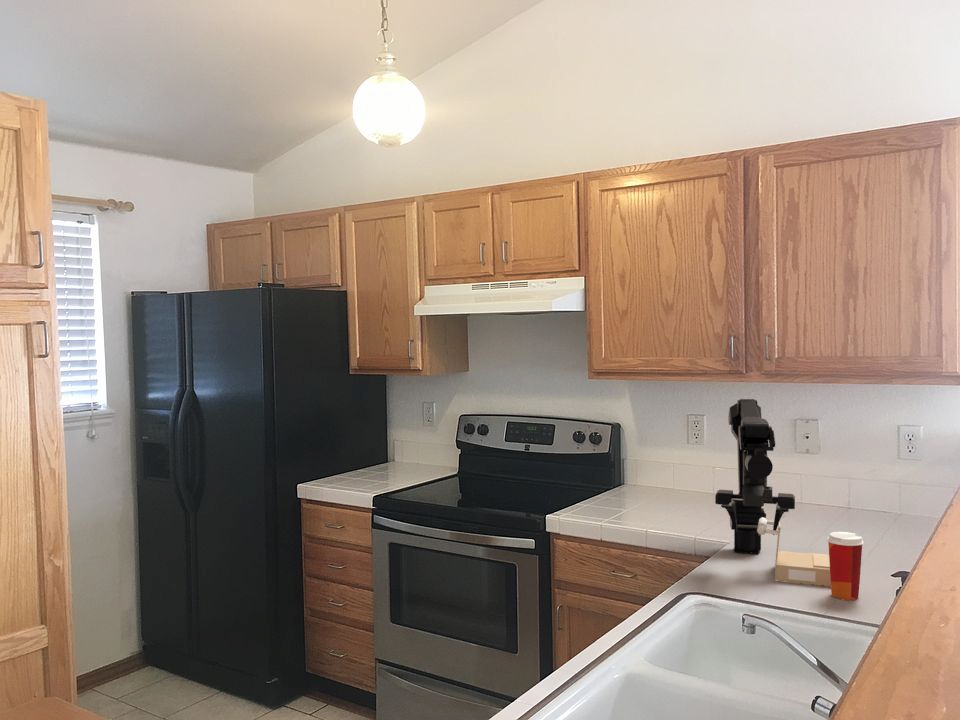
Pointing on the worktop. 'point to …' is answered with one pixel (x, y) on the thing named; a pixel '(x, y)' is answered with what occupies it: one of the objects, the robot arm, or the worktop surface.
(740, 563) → the worktop surface
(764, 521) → the flap
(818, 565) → the carton
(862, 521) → the worktop surface
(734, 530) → the robot arm
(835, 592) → the paper cup
